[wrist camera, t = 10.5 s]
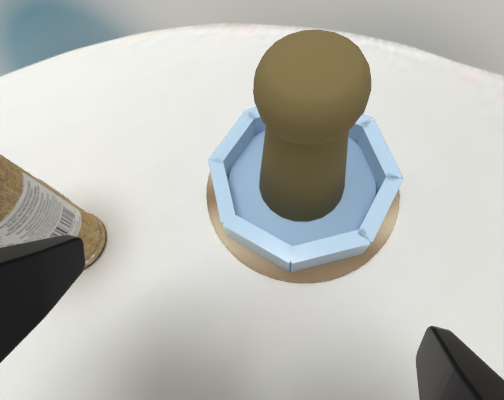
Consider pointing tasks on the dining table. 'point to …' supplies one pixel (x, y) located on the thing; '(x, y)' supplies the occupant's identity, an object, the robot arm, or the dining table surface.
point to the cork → (308, 120)
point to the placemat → (308, 274)
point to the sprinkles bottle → (42, 213)
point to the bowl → (303, 233)
